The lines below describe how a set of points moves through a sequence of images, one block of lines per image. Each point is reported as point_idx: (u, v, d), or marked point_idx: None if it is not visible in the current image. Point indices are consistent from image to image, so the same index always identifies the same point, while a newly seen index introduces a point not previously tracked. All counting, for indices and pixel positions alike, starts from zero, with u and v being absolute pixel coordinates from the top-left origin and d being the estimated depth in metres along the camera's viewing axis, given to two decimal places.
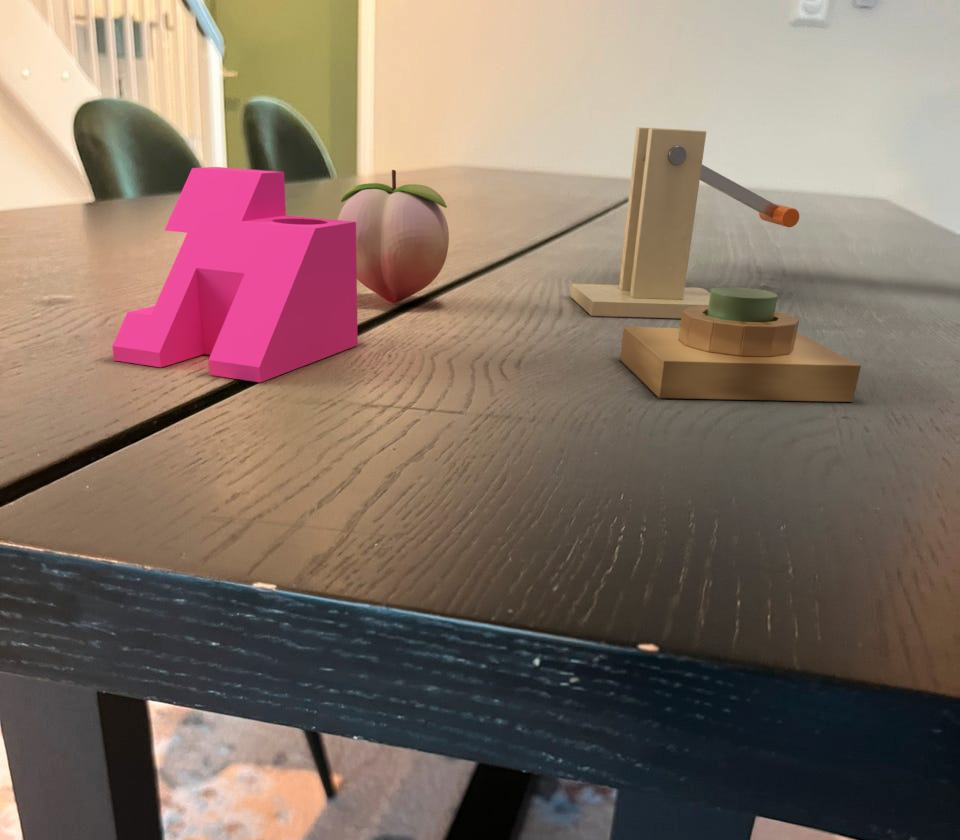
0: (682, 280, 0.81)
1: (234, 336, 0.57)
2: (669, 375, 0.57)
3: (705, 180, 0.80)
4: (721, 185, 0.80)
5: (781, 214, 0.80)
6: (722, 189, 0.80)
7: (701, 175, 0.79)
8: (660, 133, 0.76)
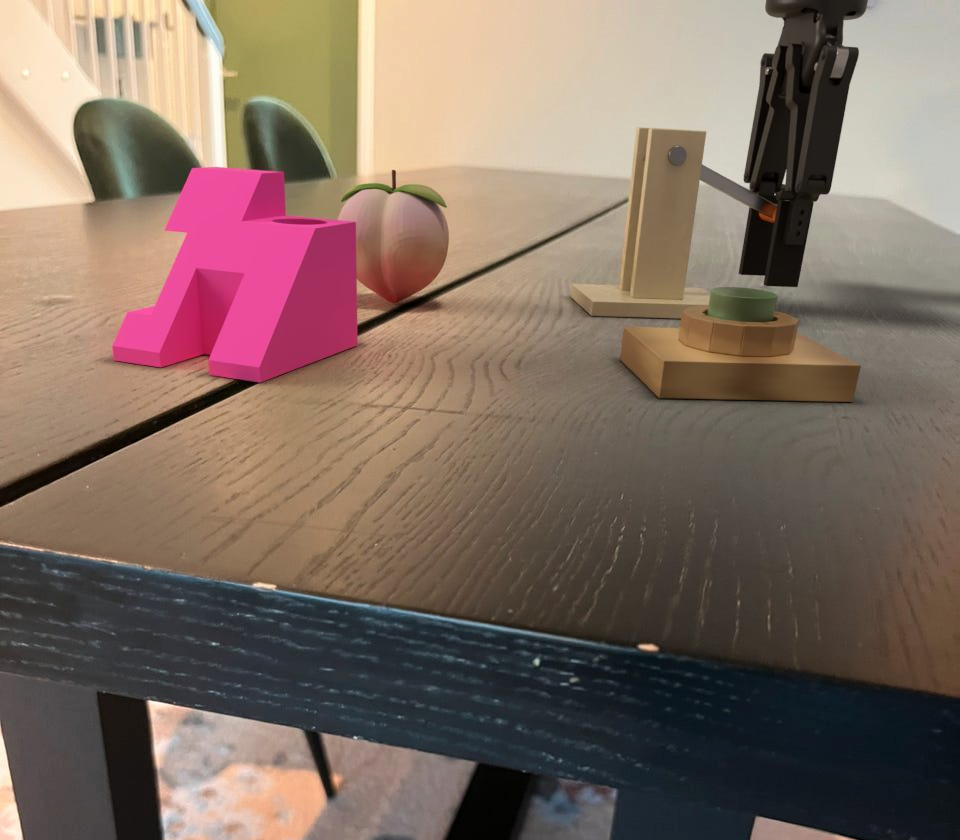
0: (682, 280, 0.81)
1: (234, 336, 0.57)
2: (669, 375, 0.57)
3: (705, 180, 0.80)
4: (721, 185, 0.80)
5: None
6: (722, 189, 0.80)
7: (701, 175, 0.79)
8: (660, 133, 0.76)
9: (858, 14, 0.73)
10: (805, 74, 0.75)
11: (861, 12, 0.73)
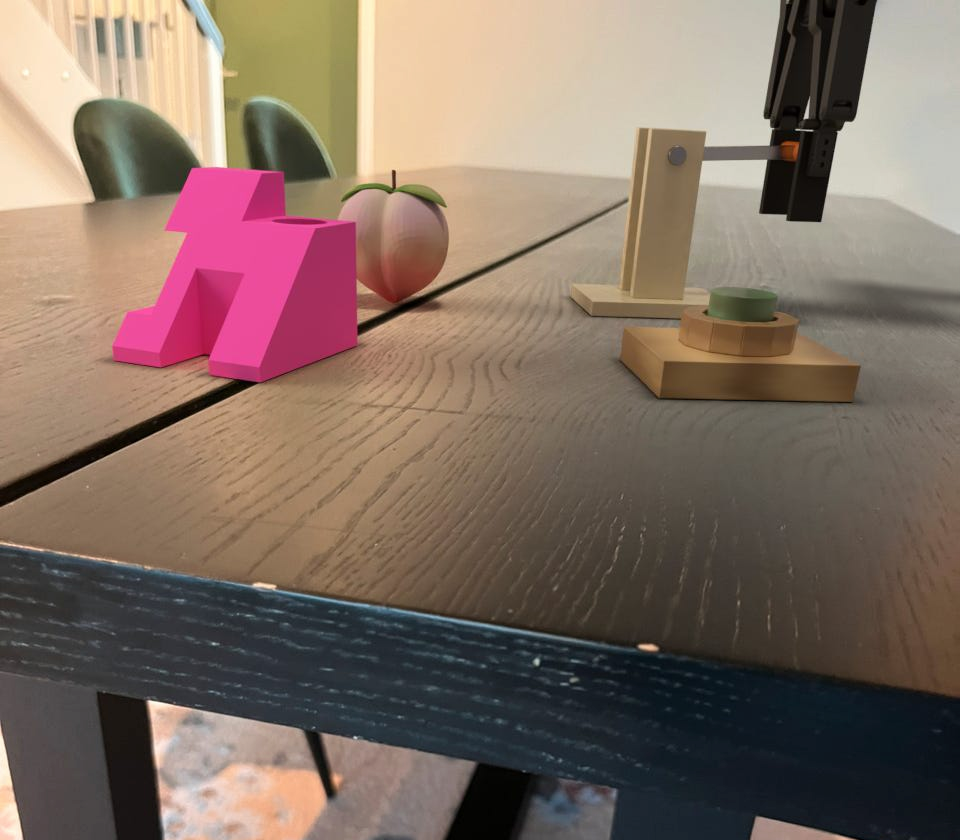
0: (682, 280, 0.81)
1: (234, 336, 0.57)
2: (669, 375, 0.57)
3: (713, 159, 0.79)
4: (731, 155, 0.79)
5: None
6: (733, 158, 0.79)
7: (708, 156, 0.79)
8: (660, 133, 0.76)
9: None
10: None
11: None
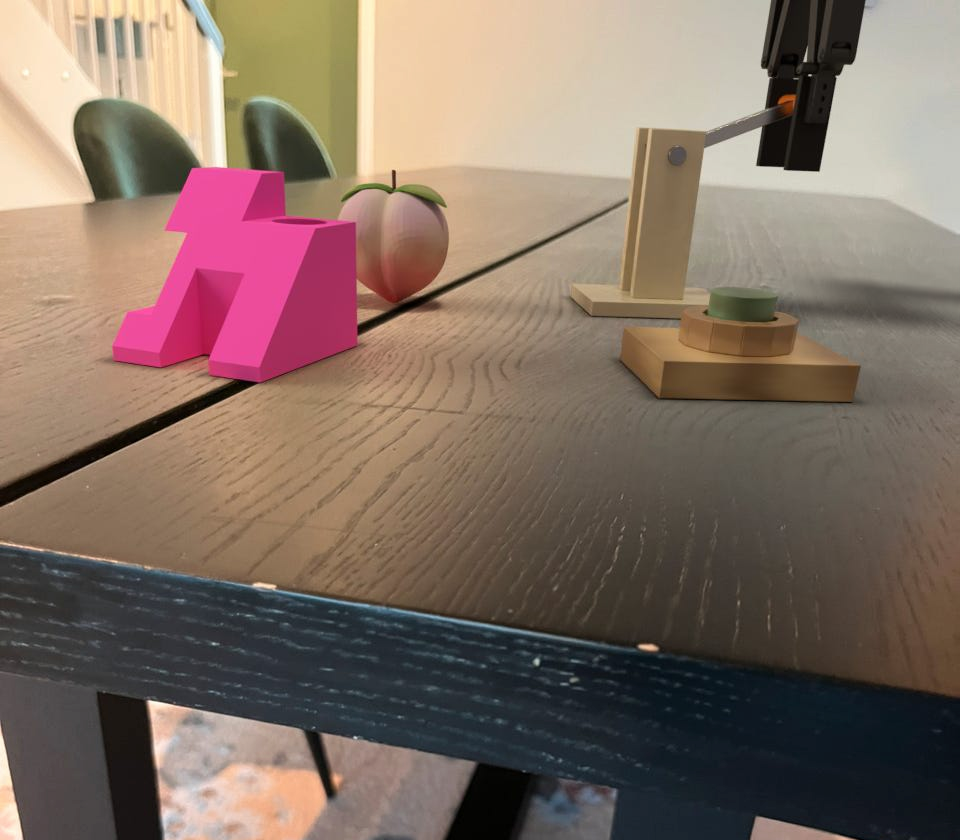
0: (682, 280, 0.81)
1: (234, 336, 0.57)
2: (669, 375, 0.57)
3: (714, 143, 0.78)
4: (731, 133, 0.78)
5: None
6: (734, 135, 0.78)
7: (708, 142, 0.78)
8: (660, 133, 0.76)
9: None
10: None
11: None
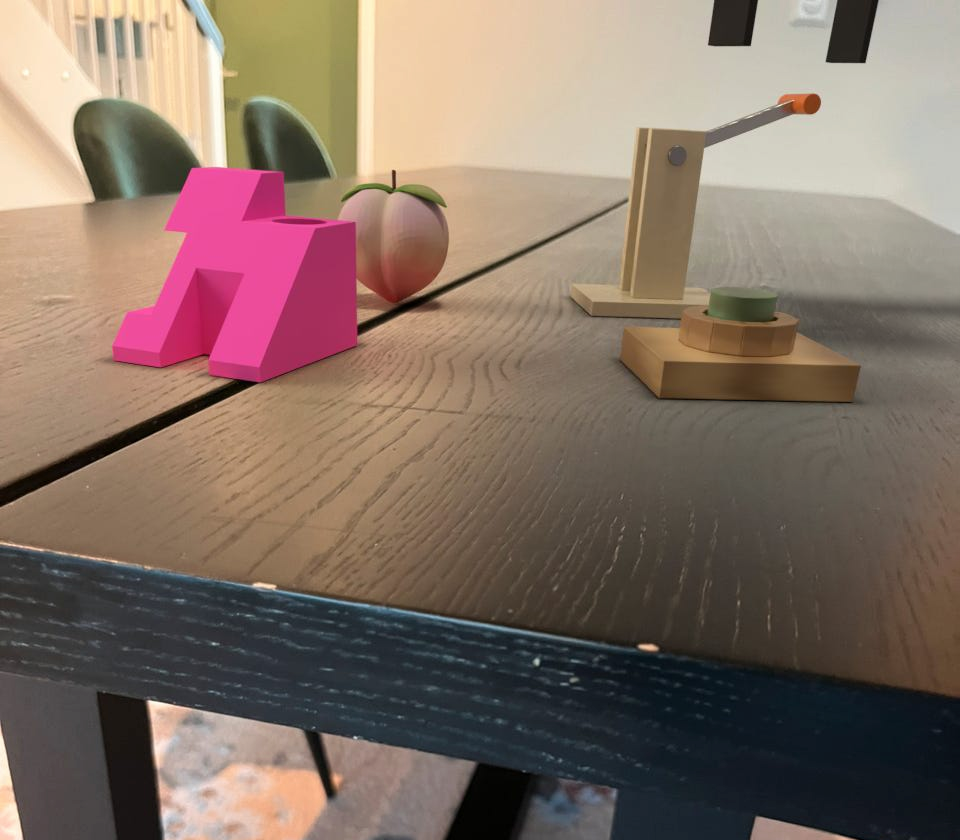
0: (682, 280, 0.81)
1: (234, 336, 0.57)
2: (669, 375, 0.57)
3: (714, 142, 0.78)
4: (731, 133, 0.78)
5: (801, 109, 0.76)
6: (734, 135, 0.78)
7: (708, 142, 0.78)
8: (660, 133, 0.76)
9: None
10: None
11: None
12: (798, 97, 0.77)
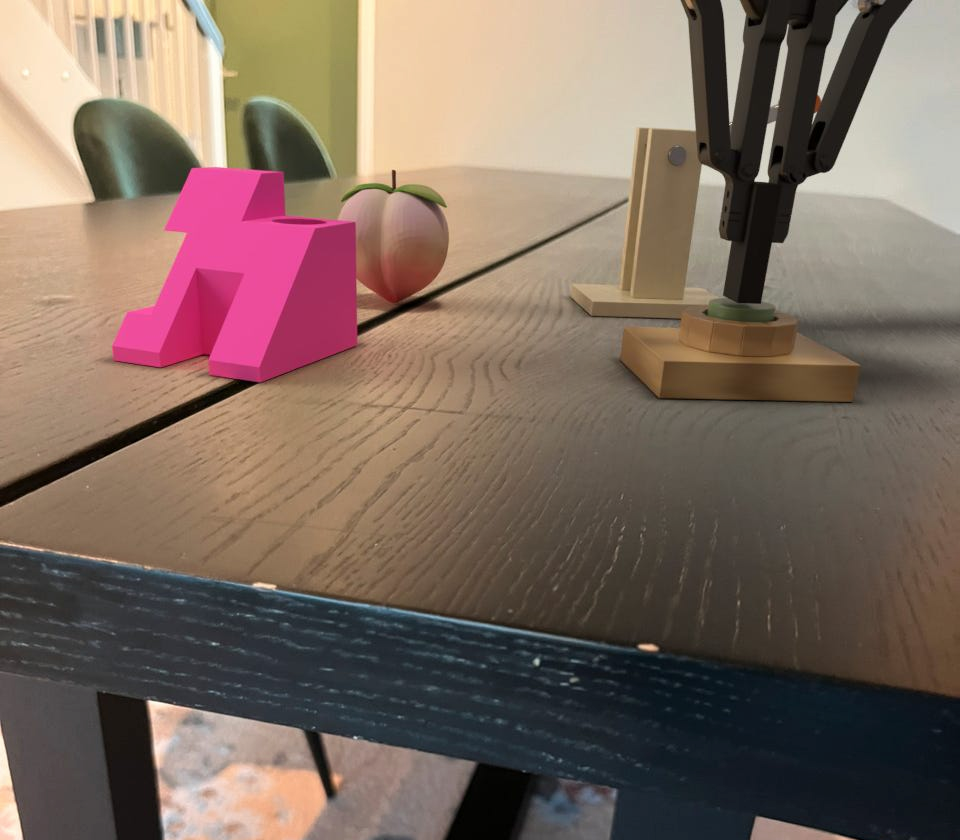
0: (682, 280, 0.81)
1: (234, 336, 0.57)
2: (669, 375, 0.57)
3: None
4: None
5: None
6: None
7: None
8: (660, 133, 0.76)
9: None
10: None
11: None
12: None
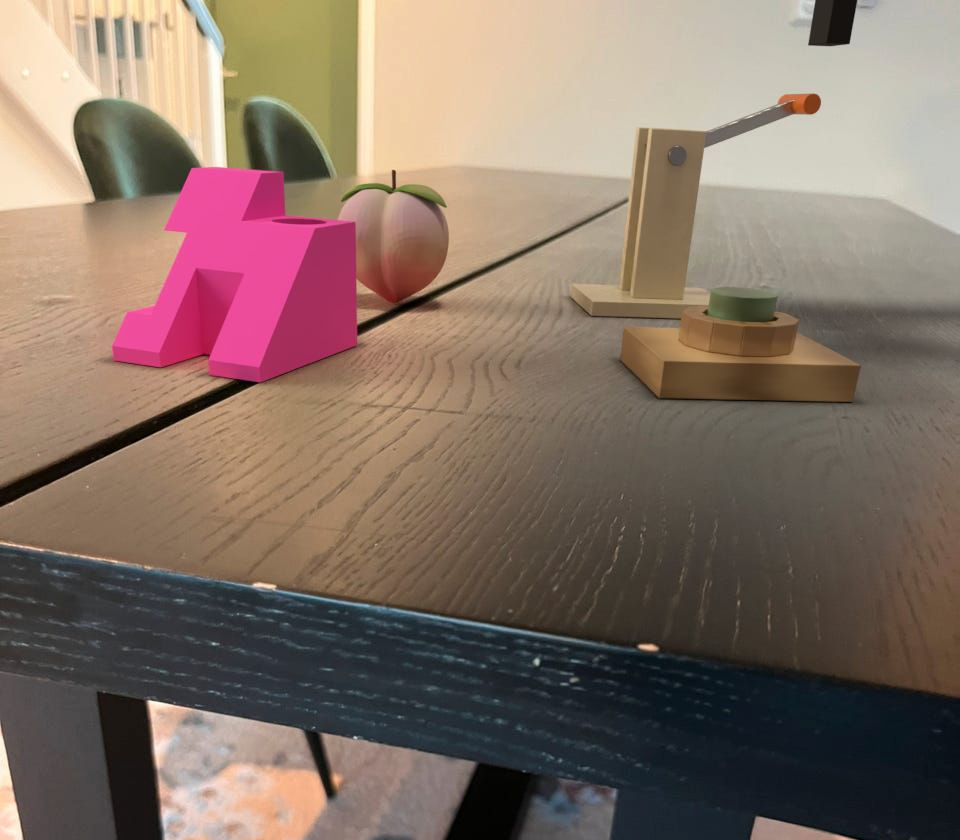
0: (682, 280, 0.81)
1: (234, 336, 0.57)
2: (669, 375, 0.57)
3: (714, 142, 0.78)
4: (731, 133, 0.78)
5: (801, 109, 0.76)
6: (734, 135, 0.78)
7: (708, 142, 0.78)
8: (660, 133, 0.76)
9: None
10: None
11: None
12: (798, 97, 0.77)
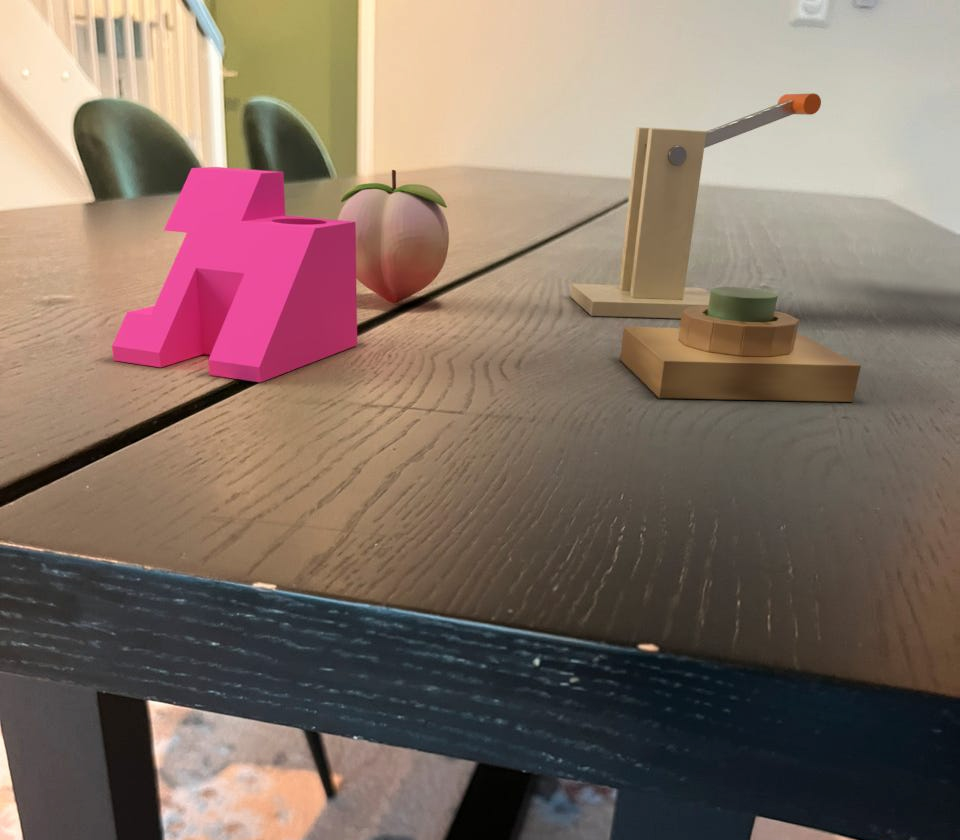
0: (682, 280, 0.81)
1: (234, 336, 0.57)
2: (669, 375, 0.57)
3: (714, 142, 0.78)
4: (731, 133, 0.78)
5: (801, 109, 0.76)
6: (734, 135, 0.78)
7: (708, 142, 0.78)
8: (660, 133, 0.76)
9: None
10: None
11: None
12: (798, 97, 0.77)
